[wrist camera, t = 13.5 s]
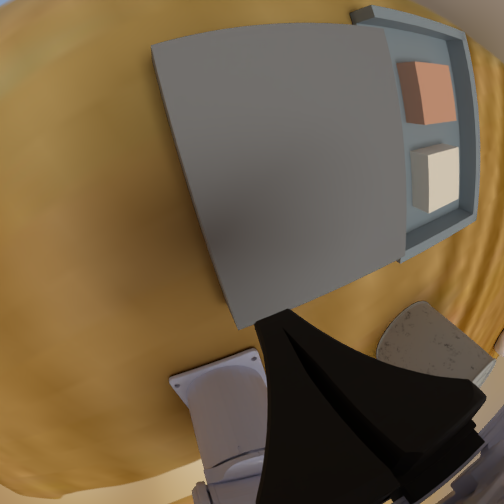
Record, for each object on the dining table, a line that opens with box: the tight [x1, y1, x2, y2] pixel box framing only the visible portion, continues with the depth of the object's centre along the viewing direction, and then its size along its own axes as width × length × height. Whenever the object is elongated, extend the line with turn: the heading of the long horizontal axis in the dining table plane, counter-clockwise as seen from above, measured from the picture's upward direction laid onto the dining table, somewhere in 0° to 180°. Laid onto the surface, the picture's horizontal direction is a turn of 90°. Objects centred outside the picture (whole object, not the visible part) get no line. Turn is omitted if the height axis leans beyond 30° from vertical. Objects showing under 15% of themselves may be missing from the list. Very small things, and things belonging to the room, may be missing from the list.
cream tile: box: [410, 143, 459, 213], centre depth 20 cm, size 5×5×2 cm
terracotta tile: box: [396, 62, 456, 125], centre depth 17 cm, size 5×5×2 cm
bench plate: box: [151, 23, 407, 330], centre depth 16 cm, size 17×14×3 cm
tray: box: [350, 5, 480, 263], centre depth 19 cm, size 20×13×2 cm, turn 13°
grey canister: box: [376, 301, 496, 388], centre depth 26 cm, size 10×10×12 cm
